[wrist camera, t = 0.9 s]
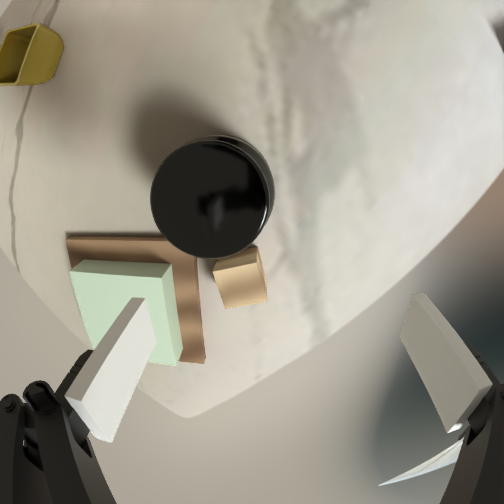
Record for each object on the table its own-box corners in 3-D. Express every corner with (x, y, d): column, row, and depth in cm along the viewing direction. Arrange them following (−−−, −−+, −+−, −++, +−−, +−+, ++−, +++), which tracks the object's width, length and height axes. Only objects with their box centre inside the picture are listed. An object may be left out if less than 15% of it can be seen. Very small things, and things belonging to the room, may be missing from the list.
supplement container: (202, 124, 29) (169, 114, 18) (286, 159, 31) (300, 166, 19) (171, 205, 33) (129, 236, 22) (250, 238, 34) (243, 284, 23)
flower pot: (25, 88, 26) (-13, 86, 18) (42, 39, 23) (6, 30, 15) (58, 89, 27) (16, 85, 19) (77, 36, 24) (40, 21, 15)
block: (219, 254, 35) (212, 271, 31) (257, 246, 35) (256, 262, 30) (229, 288, 37) (225, 308, 33) (266, 281, 37) (266, 301, 32)
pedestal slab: (84, 259, 35) (69, 271, 31) (171, 263, 34) (161, 277, 31) (104, 336, 40) (94, 351, 36) (183, 348, 40) (176, 365, 36)
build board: (71, 236, 35) (65, 239, 34) (195, 237, 35) (192, 241, 33) (99, 342, 43) (95, 347, 41) (205, 357, 42) (204, 363, 41)
